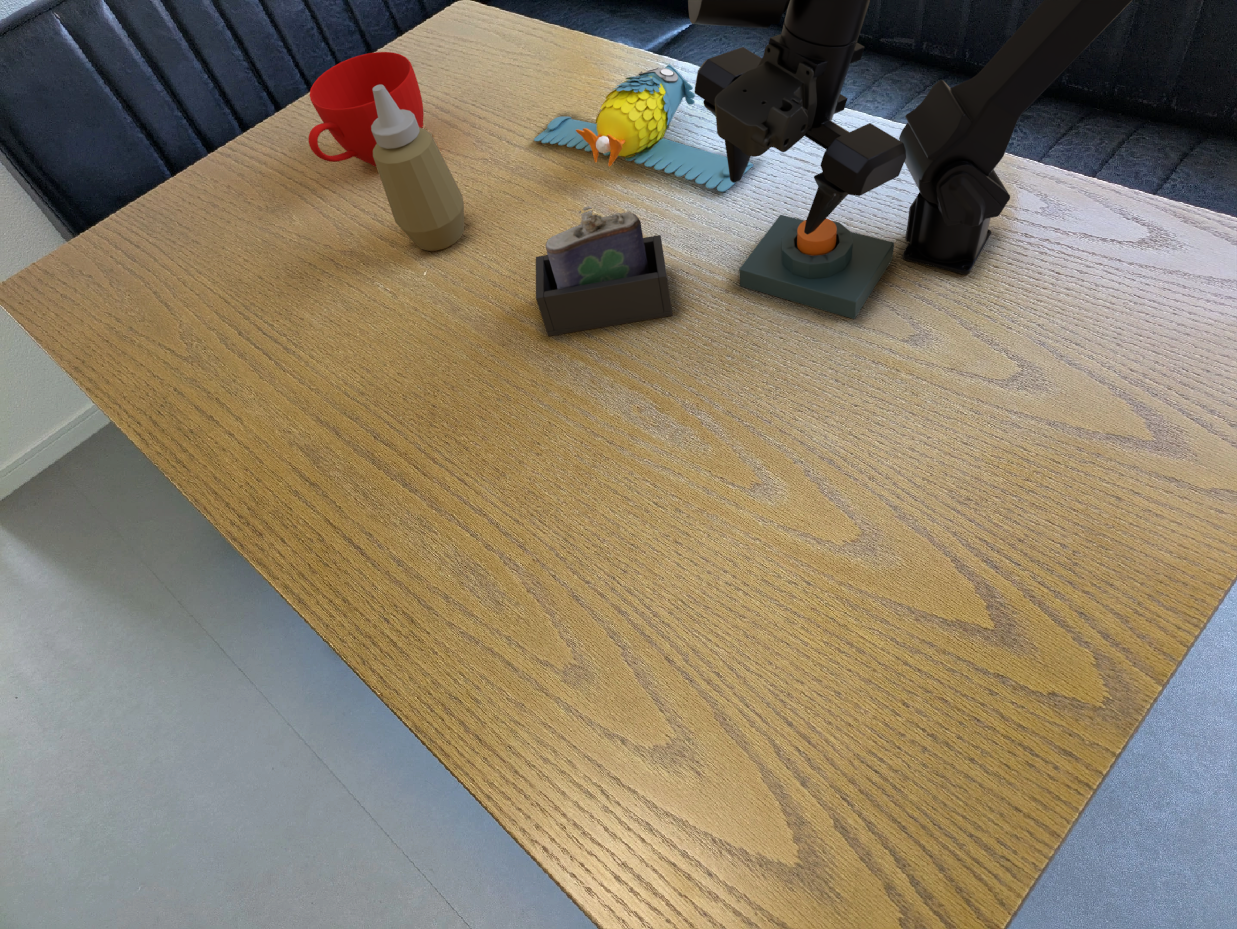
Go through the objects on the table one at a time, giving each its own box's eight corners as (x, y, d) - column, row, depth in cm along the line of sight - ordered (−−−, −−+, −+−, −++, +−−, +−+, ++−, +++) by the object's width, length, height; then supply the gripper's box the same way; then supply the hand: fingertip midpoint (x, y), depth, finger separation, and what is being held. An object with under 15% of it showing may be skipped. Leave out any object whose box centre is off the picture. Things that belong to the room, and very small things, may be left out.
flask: (568, 323, 81) (542, 236, 73) (561, 305, 83) (535, 218, 75) (655, 295, 82) (640, 205, 73) (647, 277, 83) (631, 187, 75)
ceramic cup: (304, 189, 105) (264, 118, 97) (388, 117, 113) (357, 45, 105) (375, 210, 100) (340, 136, 92) (459, 133, 107) (432, 58, 99)
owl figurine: (496, 91, 94) (574, 30, 101) (515, 159, 101) (587, 97, 107) (702, 141, 82) (776, 67, 88) (708, 214, 88) (776, 140, 95)
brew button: (842, 236, 78) (843, 221, 76) (826, 260, 76) (826, 245, 75) (807, 228, 79) (807, 213, 78) (790, 251, 78) (790, 236, 76)
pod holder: (666, 274, 84) (660, 234, 80) (672, 315, 80) (666, 275, 76) (547, 294, 85) (535, 256, 81) (548, 336, 82) (535, 298, 77)
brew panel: (892, 259, 80) (896, 226, 77) (854, 319, 76) (857, 287, 73) (780, 231, 85) (780, 199, 82) (739, 286, 81) (737, 254, 78)
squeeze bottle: (394, 254, 94) (323, 108, 80) (428, 210, 98) (366, 63, 84) (453, 262, 91) (390, 113, 77) (485, 217, 95) (432, 67, 81)
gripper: (661, 1, 62) (637, 182, 74) (848, 114, 54) (787, 296, 66) (760, -27, 67) (722, 147, 79) (944, 72, 59) (871, 248, 72)
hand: (771, 205), depth 74 cm, fingers open, 9 cm apart
